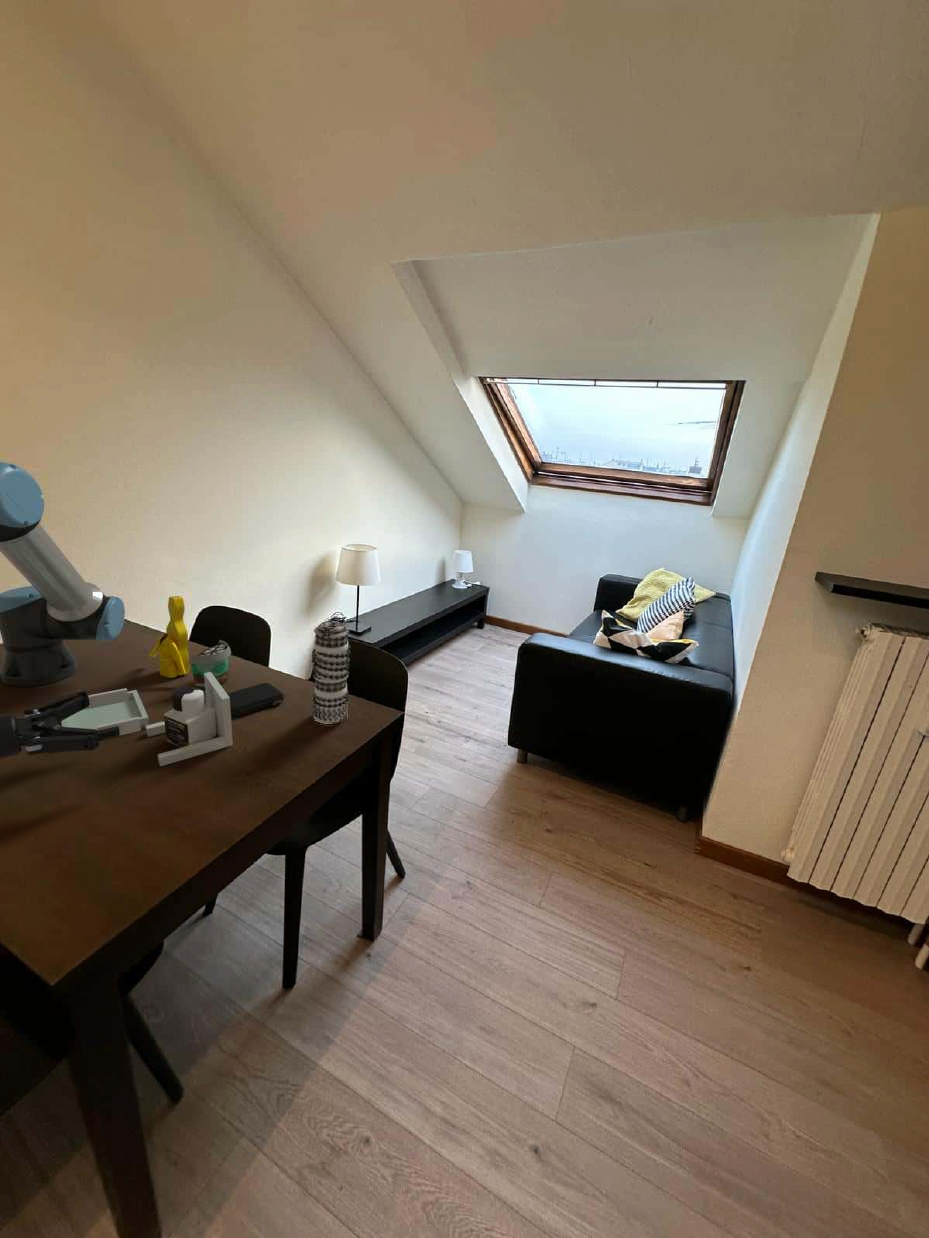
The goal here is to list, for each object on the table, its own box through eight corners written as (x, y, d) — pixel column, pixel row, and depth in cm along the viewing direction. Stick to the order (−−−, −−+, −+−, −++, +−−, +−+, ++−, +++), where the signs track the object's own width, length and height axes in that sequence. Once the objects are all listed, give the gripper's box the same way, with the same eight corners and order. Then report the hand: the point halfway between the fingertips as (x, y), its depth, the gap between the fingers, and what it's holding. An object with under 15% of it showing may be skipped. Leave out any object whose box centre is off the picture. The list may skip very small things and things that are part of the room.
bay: (146, 733, 109) (140, 685, 105) (214, 716, 118) (210, 671, 114) (160, 766, 99) (153, 715, 95) (232, 745, 108) (229, 697, 104)
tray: (60, 714, 112) (58, 705, 111) (137, 698, 122) (136, 689, 121) (65, 747, 102) (63, 737, 101) (149, 726, 111) (148, 717, 110)
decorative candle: (356, 718, 124) (359, 626, 115) (324, 730, 117) (325, 634, 109) (336, 703, 129) (338, 615, 121) (304, 714, 123) (304, 622, 115)
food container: (212, 695, 127) (209, 660, 124) (191, 690, 128) (188, 656, 125) (242, 675, 138) (240, 643, 135) (222, 671, 139) (220, 639, 136)
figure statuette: (143, 667, 137) (134, 593, 129) (172, 659, 143) (164, 587, 136) (178, 688, 128) (170, 610, 121) (207, 678, 134) (201, 603, 127)
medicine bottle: (166, 741, 107) (160, 693, 103) (194, 726, 113) (190, 680, 109) (189, 751, 104) (184, 702, 100) (217, 735, 111) (213, 689, 107)
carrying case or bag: (233, 723, 116) (289, 704, 127) (232, 712, 115) (289, 694, 126) (213, 706, 123) (269, 688, 134) (213, 695, 122) (268, 679, 133)
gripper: (-6, 725, 95) (125, 699, 108) (-9, 797, 77) (147, 754, 91) (-14, 691, 92) (121, 668, 106) (-19, 756, 75) (143, 719, 89)
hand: (133, 708), depth 98 cm, fingers open, 13 cm apart
